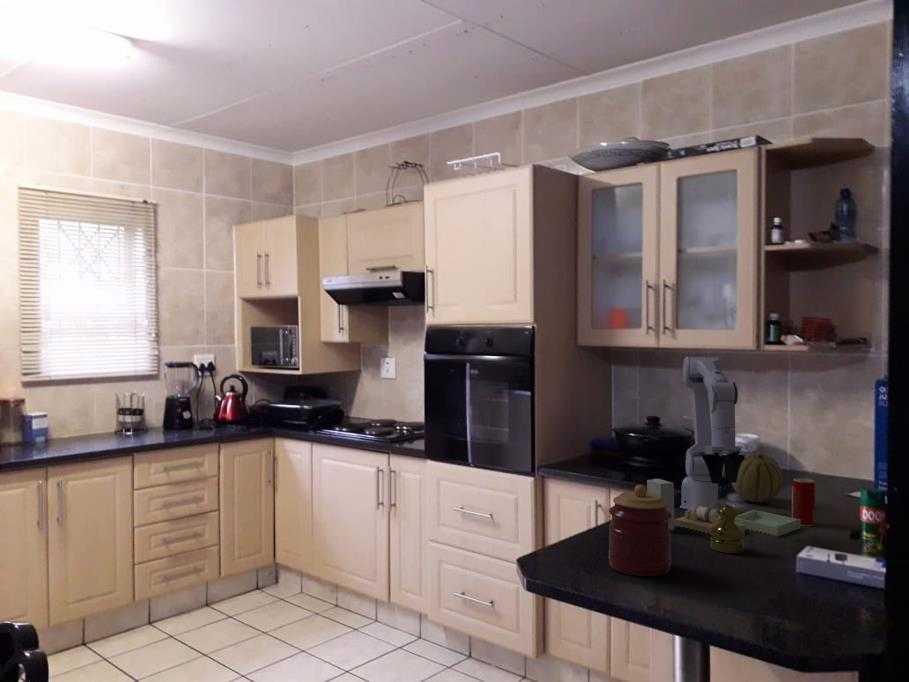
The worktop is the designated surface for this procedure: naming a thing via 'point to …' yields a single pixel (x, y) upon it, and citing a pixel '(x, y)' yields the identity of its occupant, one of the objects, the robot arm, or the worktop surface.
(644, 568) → the canister
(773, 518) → the parts tray
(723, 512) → the gold tiered figurine
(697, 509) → the fuse
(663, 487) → the skincare box
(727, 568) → the worktop surface
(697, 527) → the fuse holder
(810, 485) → the soda can
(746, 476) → the ribbed pale melon
